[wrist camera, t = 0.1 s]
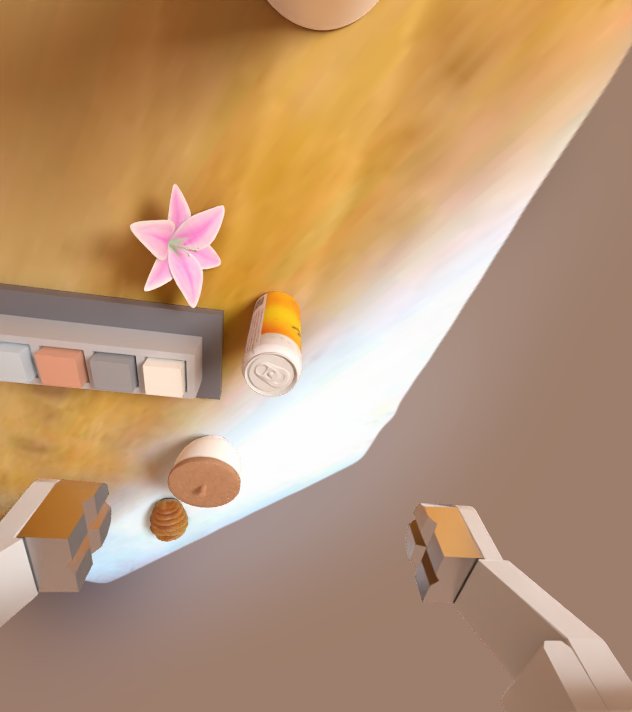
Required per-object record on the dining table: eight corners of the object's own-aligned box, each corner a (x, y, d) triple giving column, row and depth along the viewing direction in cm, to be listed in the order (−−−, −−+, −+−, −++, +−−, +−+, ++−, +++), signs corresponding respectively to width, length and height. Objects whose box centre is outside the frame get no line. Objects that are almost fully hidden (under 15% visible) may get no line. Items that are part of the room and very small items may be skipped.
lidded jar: (171, 456, 63) (153, 504, 55) (195, 415, 58) (180, 461, 51) (228, 476, 67) (220, 524, 59) (256, 439, 62) (251, 486, 54)
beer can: (283, 337, 52) (280, 408, 39) (245, 315, 49) (229, 382, 37) (309, 305, 49) (313, 369, 36) (270, 280, 47) (261, 338, 34)
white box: (0, 331, 45) (-24, 348, 42) (39, 335, 46) (18, 353, 42) (10, 361, 48) (-12, 379, 44) (47, 365, 48) (28, 383, 45)
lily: (195, 299, 49) (220, 323, 42) (96, 264, 41) (107, 287, 34) (230, 213, 47) (263, 224, 40) (134, 160, 39) (153, 161, 32)
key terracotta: (53, 337, 46) (34, 354, 43) (90, 341, 46) (74, 358, 43) (60, 366, 48) (42, 384, 45) (96, 369, 49) (81, 388, 45)
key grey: (104, 342, 47) (89, 360, 43) (140, 346, 47) (128, 364, 44) (108, 371, 49) (95, 389, 46) (143, 374, 50) (132, 393, 46)
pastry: (150, 494, 68) (143, 512, 65) (187, 495, 69) (182, 514, 66) (155, 524, 73) (148, 543, 70) (190, 525, 74) (185, 543, 71)
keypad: (-26, 280, 45) (-67, 300, 40) (223, 310, 49) (215, 332, 44) (6, 373, 52) (-25, 399, 47) (221, 393, 56) (214, 420, 51)
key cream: (153, 348, 47) (142, 365, 44) (188, 351, 48) (180, 369, 45) (155, 375, 50) (145, 394, 46) (189, 379, 50) (181, 397, 47)
